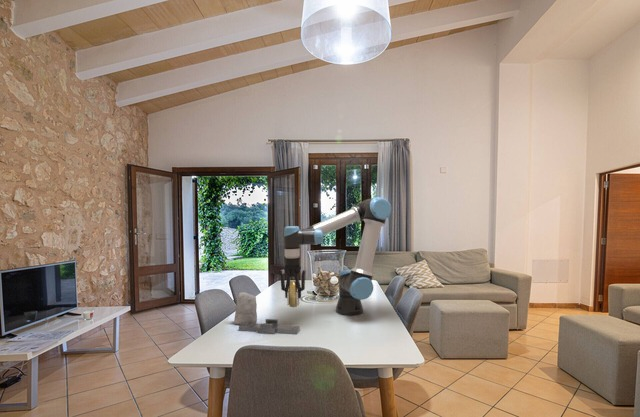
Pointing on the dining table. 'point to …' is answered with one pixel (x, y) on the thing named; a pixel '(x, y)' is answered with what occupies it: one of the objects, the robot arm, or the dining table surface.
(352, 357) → the dining table surface
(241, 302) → the decorative stone
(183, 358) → the dining table surface
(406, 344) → the dining table surface
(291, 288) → the link pin
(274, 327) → the link plates
